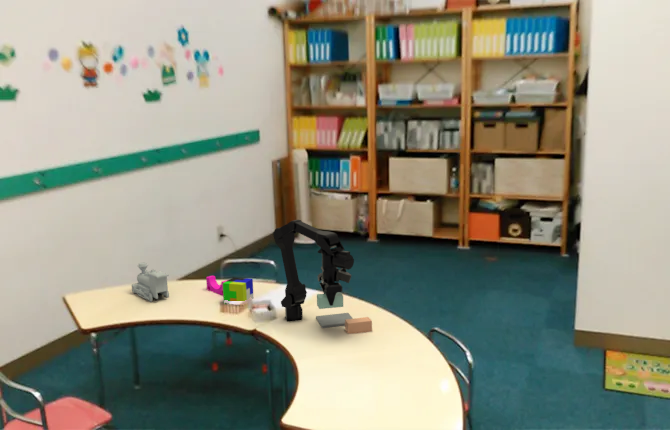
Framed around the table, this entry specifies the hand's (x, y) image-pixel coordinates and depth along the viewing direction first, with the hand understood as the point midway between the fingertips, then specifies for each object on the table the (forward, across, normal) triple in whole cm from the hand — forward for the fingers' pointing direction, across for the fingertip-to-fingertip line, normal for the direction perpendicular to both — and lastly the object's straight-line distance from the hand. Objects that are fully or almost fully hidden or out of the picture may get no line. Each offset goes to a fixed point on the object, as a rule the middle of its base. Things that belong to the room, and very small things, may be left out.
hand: (330, 303), depth 248 cm
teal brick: (+1, 0, 0) cm, 1 cm away
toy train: (+12, +67, +73) cm, 100 cm away
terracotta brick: (+11, -4, -10) cm, 16 cm away
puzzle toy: (+12, +46, +33) cm, 58 cm away
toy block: (+12, +63, +40) cm, 76 cm away
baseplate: (+11, +8, -4) cm, 14 cm away
